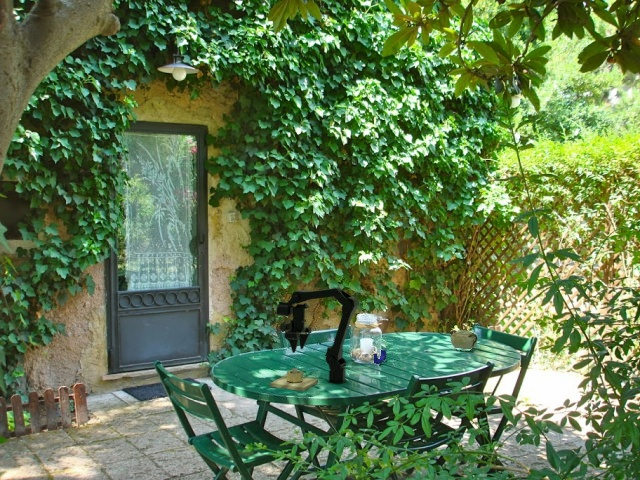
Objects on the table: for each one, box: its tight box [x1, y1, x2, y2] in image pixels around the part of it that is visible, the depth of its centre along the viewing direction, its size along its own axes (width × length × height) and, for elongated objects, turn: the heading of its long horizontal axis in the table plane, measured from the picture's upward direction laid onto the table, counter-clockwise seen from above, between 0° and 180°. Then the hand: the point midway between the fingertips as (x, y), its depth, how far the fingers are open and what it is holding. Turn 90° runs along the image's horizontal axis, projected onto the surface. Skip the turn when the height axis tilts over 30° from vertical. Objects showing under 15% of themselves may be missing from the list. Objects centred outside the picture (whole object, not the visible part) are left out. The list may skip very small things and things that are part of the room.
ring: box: [286, 369, 304, 382], centre depth 280 cm, size 7×7×4 cm
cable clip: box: [374, 349, 388, 364], centre depth 327 cm, size 12×4×6 cm, turn 148°
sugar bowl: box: [450, 324, 478, 349], centre depth 364 cm, size 20×15×15 cm
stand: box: [269, 367, 319, 392], centre depth 280 cm, size 16×16×7 cm
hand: (297, 350), depth 294 cm, fingers open, 9 cm apart
